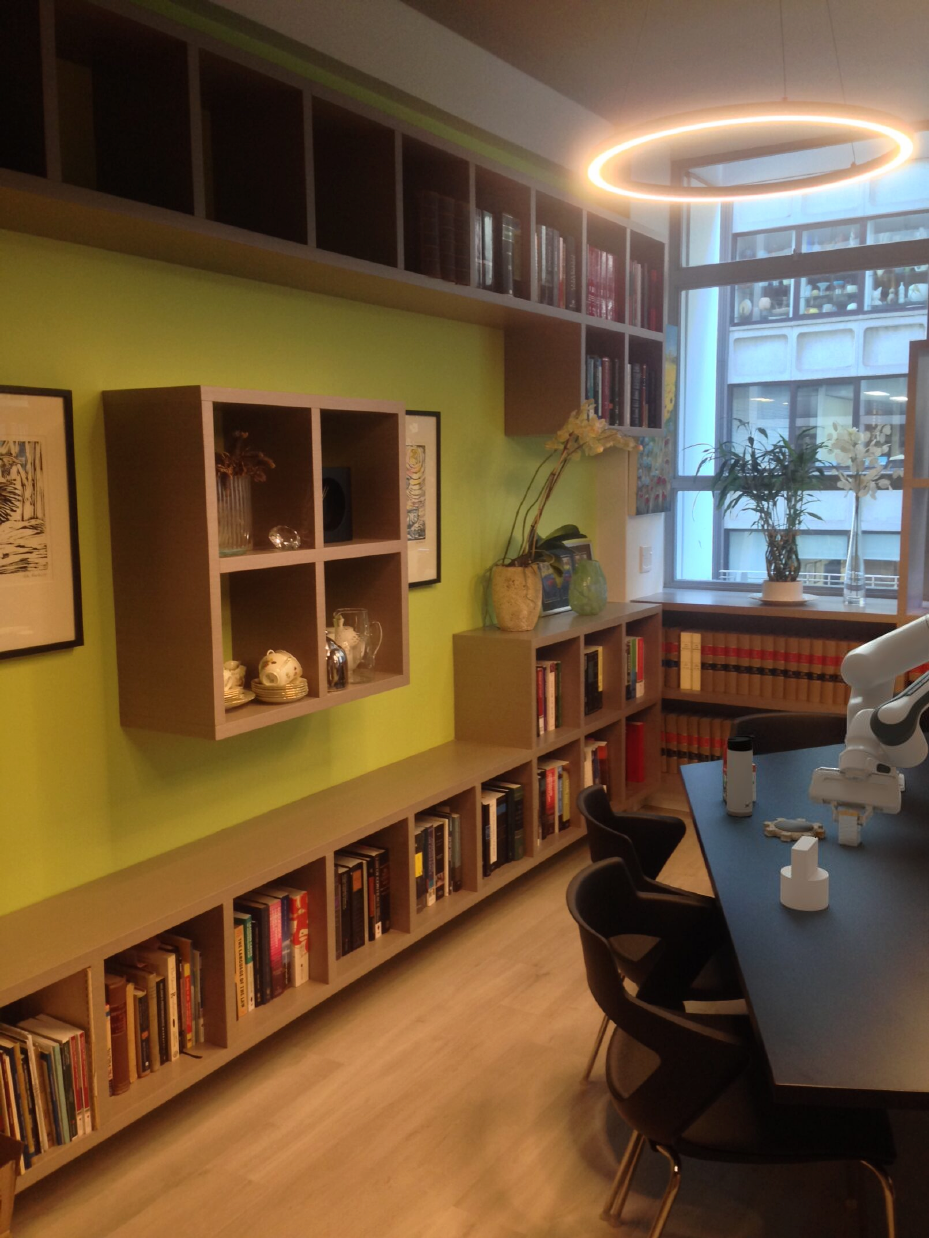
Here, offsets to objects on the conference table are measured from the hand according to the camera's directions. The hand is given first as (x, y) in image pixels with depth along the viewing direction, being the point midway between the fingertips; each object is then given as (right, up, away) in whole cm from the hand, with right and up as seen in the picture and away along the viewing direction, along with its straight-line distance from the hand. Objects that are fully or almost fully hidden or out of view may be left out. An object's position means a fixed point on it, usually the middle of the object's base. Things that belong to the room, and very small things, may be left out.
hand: (848, 822), depth 241 cm
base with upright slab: (-21, -9, -33) cm, 40 cm away
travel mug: (-18, -3, +26) cm, 31 cm away
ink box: (-15, -1, +37) cm, 40 cm away
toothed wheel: (-10, -4, +9) cm, 14 cm away
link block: (+1, -5, +1) cm, 5 cm away
